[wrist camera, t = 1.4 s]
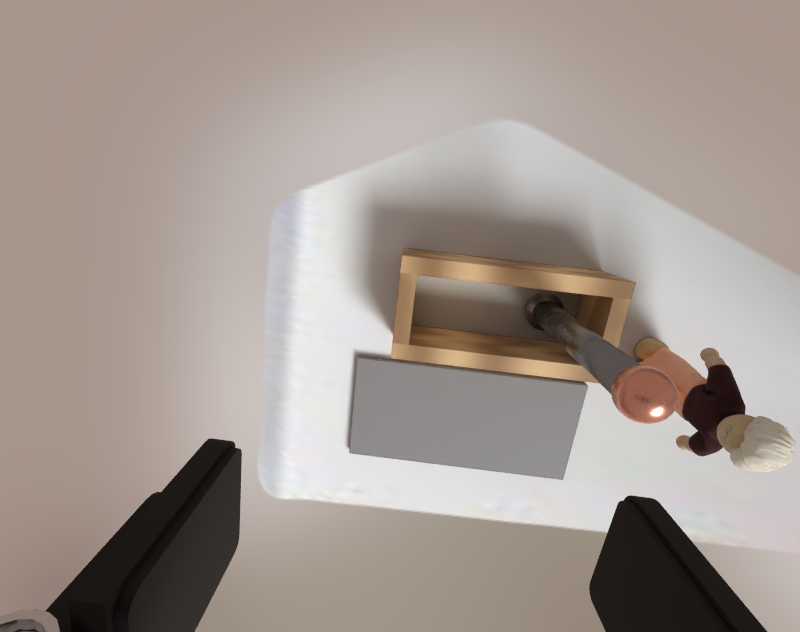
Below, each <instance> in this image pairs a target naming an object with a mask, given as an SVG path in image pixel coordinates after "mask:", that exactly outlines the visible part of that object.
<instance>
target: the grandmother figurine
mask: <svg viewBox="0 0 800 632" xmlns="http://www.w3.org/2000/svg"><path fill="white" fill-rule="evenodd" d="M635 352H636V355H637V357H638V358H640V359H642V360H644V361H642V362H639V364H640V365H642V366H650V367H653V368H656V369H658V370H660V371H662V372H664V373H665V374H666V375H668V376H669V377H670V378H671V380H672V381H673V382H674V384H675V386H676V388H677V391H678V404H677V407H676V409H675V411H676V412H677V413H678V414H679V415H680V416H681V417H682V418H683V419H685V420H686V421H689V422H690V424H691V425H693V426H694V427H695V428H696V429H697V430H698V432H696V433H695V434H694V435H692V436H691V437H688V436H685V435H682V436H679V437H678V438H677V439H676V444H677V446H678V447H679V448H681V449H683V450H689V451H692V452H694V453H695V454H697V455H699V456H706V455H709V454H712V453H715V452H717V451H719V450H720V449H722V448H723V447H724V448H725V449H726V450H727V451H728V452H729V453H730V454H731V455H730V459H731V461H732V462H733V464H734V465H735V466H737V467H738V468H740V469H743V470H749V471H754V472H770V471H772V470H776V469H778V468H780V467H782V466H784V465H788V464H789V462H790V461H791V460H792V456H793V452H792V451H793V449H794V446H795V441H794V440H793V439H792V437H791V436H790V434H789V432H788V430H787V428H786V427H784V426H783V425H781V424H779V423H777V422H774V421H772V420H771V419H769V418H766V417H762V416H758V417H756V418H755V417H752V416H749V415H745V404H744V402H743V400H742V397H741V394H740V391H739V389H738V386H737V384H736V381H735V379H734V377H733V374H732V372H731V369H730V368H729V367H728V366H727V365H726V364H725V362H724V361H723V359H722V358H720V357H719V353H718V352H717V351H716V350H715V349H713V348H706V349H704V350H702V351H701V354H700V356H701V358H702V360H703V361H705V365H706V367H707V369H708V378H707V379H705V378H704V377H702V376H701V375H700V374H699V373H698V372H697V371H696V370H695V369H694V368H693V367H692V366H691V365H690V364H689V363H688V362H686V361H685V360H684V359H682V358H681V357H680V356H678V355H676V354H674V353H673V352H672V351H670V350H669V348H668V347H667V346H666V345H665V344H663V343H661V342H659V341H657V340H655V339H653V338H645V339H642V340H641V341H640V342H639V343H638V345H637V347H636V349H635Z"/></svg>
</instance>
